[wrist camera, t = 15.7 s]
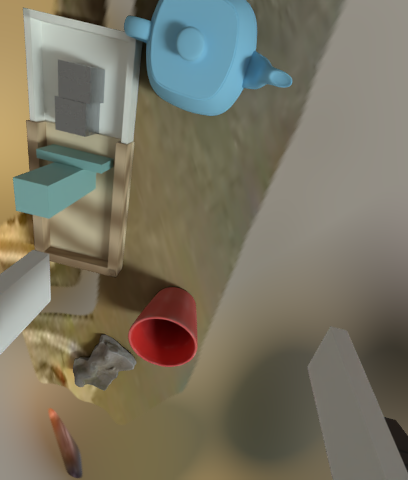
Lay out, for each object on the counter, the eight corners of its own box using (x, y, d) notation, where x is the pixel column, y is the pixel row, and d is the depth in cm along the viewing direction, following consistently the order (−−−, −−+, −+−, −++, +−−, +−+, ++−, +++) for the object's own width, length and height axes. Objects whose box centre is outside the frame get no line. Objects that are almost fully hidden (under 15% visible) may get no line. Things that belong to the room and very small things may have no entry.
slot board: (39, 118, 42) (26, 120, 40) (134, 141, 42) (127, 145, 39) (46, 249, 52) (35, 257, 50) (122, 268, 52) (115, 277, 50)
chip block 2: (71, 95, 40) (54, 95, 36) (100, 102, 40) (85, 103, 36) (71, 126, 42) (55, 129, 38) (98, 133, 42) (85, 136, 38)
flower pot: (188, 334, 57) (177, 377, 49) (137, 309, 56) (118, 348, 47) (215, 298, 53) (209, 338, 44) (160, 269, 51) (144, 305, 43)
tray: (36, 12, 36) (22, 7, 34) (142, 37, 36) (136, 34, 34) (41, 118, 42) (30, 120, 40) (133, 141, 42) (126, 144, 40)
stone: (106, 328, 60) (97, 344, 56) (142, 355, 62) (136, 371, 58) (70, 360, 66) (59, 376, 62) (104, 384, 68) (96, 400, 64)
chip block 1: (75, 62, 38) (57, 59, 34) (105, 69, 38) (90, 67, 34) (75, 96, 40) (58, 96, 36) (103, 103, 40) (89, 104, 36)
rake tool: (53, 144, 43) (-11, 161, 32) (113, 158, 42) (69, 181, 32) (54, 178, 45) (-5, 205, 34) (111, 192, 45) (69, 223, 34)
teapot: (266, 148, 30) (97, 88, 30) (261, 134, 40) (133, 89, 39) (327, -2, 24) (118, -79, 24) (304, 24, 34) (154, -30, 33)
